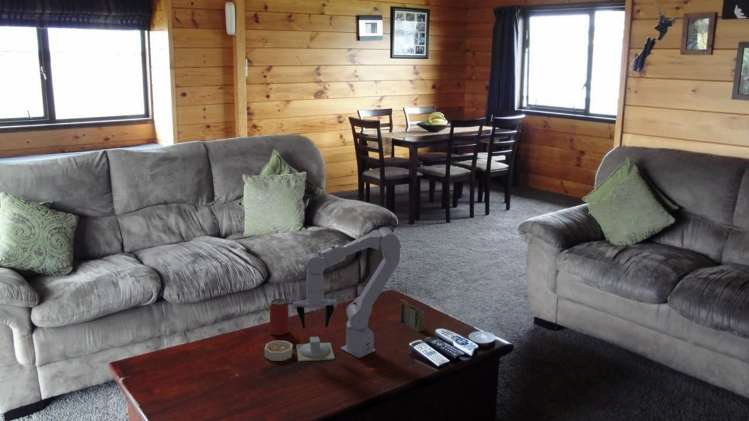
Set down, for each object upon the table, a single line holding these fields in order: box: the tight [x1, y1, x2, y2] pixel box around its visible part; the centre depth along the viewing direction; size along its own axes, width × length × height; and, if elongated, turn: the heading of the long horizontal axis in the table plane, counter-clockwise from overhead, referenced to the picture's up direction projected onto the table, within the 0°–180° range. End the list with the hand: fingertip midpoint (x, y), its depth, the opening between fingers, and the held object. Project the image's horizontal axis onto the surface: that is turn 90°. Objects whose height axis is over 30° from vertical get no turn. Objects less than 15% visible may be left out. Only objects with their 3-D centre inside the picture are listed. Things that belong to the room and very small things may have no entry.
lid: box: [300, 336, 330, 358], centre depth 230 cm, size 10×10×4 cm
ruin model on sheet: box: [399, 298, 425, 333], centre depth 253 cm, size 11×3×10 cm, turn 34°
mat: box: [295, 342, 336, 363], centre depth 231 cm, size 12×12×1 cm
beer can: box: [269, 298, 289, 337], centre depth 244 cm, size 7×7×12 cm
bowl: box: [264, 340, 294, 362], centre depth 228 cm, size 9×9×3 cm
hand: (314, 326), depth 228 cm, fingers open, 7 cm apart
